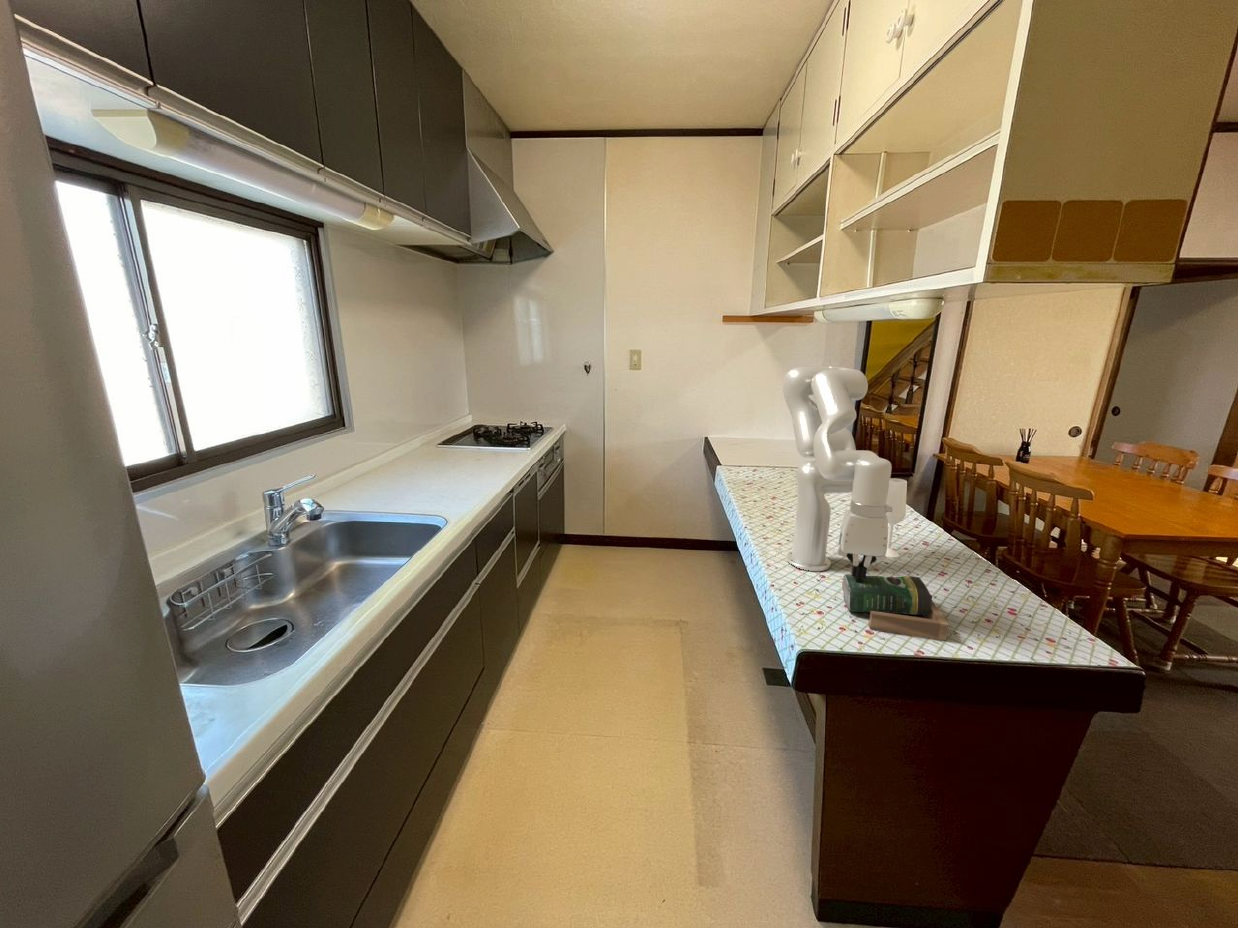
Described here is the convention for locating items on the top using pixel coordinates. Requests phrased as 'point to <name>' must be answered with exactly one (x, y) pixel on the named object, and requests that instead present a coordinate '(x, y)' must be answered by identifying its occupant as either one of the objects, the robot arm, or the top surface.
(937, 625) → the display stand
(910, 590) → the coffee jar
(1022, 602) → the top surface
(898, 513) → the champagne flute
